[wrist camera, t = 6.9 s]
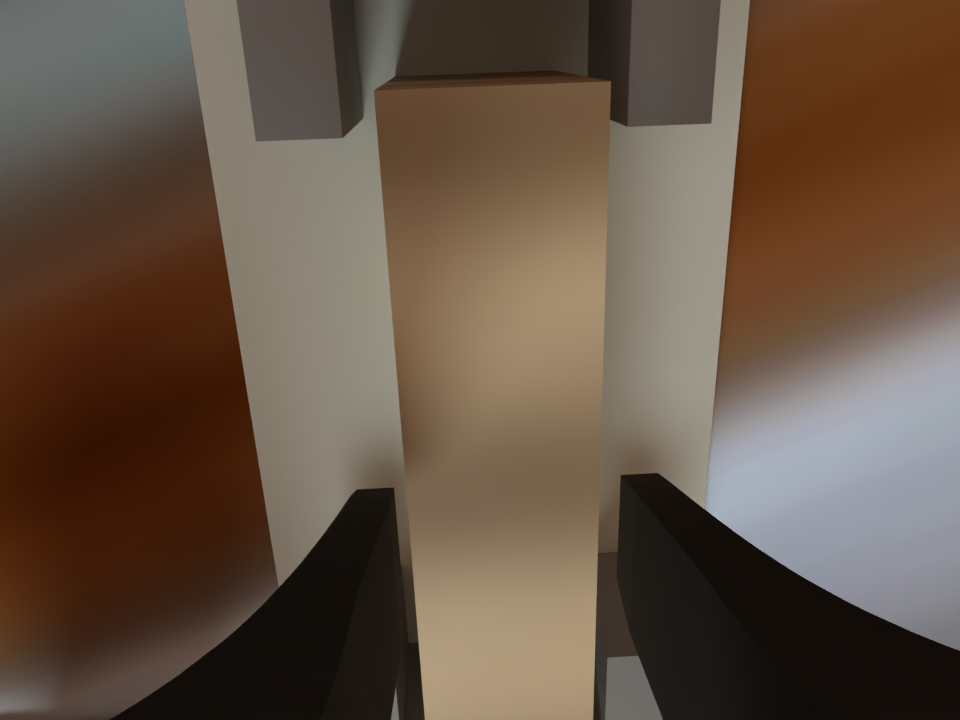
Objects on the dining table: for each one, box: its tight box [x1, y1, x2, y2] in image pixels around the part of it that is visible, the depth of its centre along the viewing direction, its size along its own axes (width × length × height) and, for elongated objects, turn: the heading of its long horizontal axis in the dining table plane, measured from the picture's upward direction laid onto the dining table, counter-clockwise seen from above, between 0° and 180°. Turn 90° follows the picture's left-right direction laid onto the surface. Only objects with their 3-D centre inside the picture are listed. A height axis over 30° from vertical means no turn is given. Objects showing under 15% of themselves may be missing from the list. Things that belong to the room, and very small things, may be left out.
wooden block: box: [374, 70, 611, 720], centre depth 17 cm, size 14×4×6 cm, turn 2°
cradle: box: [184, 0, 750, 720], centre depth 18 cm, size 22×12×5 cm, turn 2°
